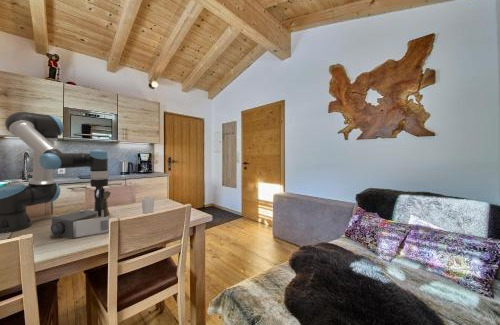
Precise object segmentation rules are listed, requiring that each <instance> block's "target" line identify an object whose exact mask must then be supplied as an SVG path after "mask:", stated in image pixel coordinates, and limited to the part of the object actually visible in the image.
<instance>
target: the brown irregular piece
mask: <svg viewBox="0 0 500 325" xmlns="http://www.w3.org/2000/svg"><path fill="white" fill-rule="evenodd" d="M110 196H111V192H110V191H108V190H105V192H104V208H105V209H103V214H104V217H109V216H110V212H109V205H108V203H109V202H108V200H107V199H108V198H110ZM95 210H96V206H95V205H94V209H93V211H95Z"/></svg>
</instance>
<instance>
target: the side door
mask: <svg viewBox="0 0 500 325" xmlns="http://www.w3.org/2000/svg"><path fill="white" fill-rule="evenodd" d="M109 222H110V217H109V216H106V217H102V218H95V219H88V220H81V221H74V222H73V238H72V239H75V238H80V237H87V236H91V235H92V236H93V235H97V234H102V233H107V232H108V233H109V232H110V225H109V224H110V223H109Z"/></svg>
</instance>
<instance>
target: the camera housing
mask: <svg viewBox="0 0 500 325" xmlns="http://www.w3.org/2000/svg"><path fill="white" fill-rule="evenodd" d="M95 218H97V211H94V209H84V208H83V209H80V210H77V211H72V212H69V213H66V214H61V215H57V216H53V217H51V225H50V232H51V235H52V236H56V237H62V238H66V239H67V238H69V239H74V238H73V222H74V221H81V220H88V219H95Z"/></svg>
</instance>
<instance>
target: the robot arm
mask: <svg viewBox="0 0 500 325" xmlns="http://www.w3.org/2000/svg"><path fill="white" fill-rule="evenodd" d="M4 126H5V129H6V130H7V132H9V134H11V135H13V136H15V137H18V138H19V139H20V140H21V141H22V142H23V143H24V144H26V145H27V146H28V147H29V148H30V149H31V150H32V151H33V154H32V155H33V157H32V158H33V159H32V178H31V180H29V181H28V185H27V186H26V185H25V184H12V185H7V186H5V185H4V186H1V187H0V232H5V233H8V232H7V231H12V232H15V231H20V230H23V229H27V228H29V227H31V226H32V220H31V217H30V216H29V214H28V213H27V207H31V206H36V205H43V204H48V203H52V202H54V201H56V200H57V199H58V198H59V197H60V195H61V187H60V185H59V184H58V183H57V181H56V180H54V179H53V176H54V174H53V173H54V170H58V169H60V170H61V169H71V168H72V169H73V168H76V169H77V168H90V170H89V171H90V172H89V173H88V174H89V175H90V187H92V188H95V189H94V196H93V197H94V207H95V206H96V210H95V211H97V218H102V217H104V214H103V209H105V208H104V192H105V191H106V190H105V188H104V187H106V186H108V185H109V179H108V178H109V169H108V168H109V161H108V160H109V157H108V151H107V150H106V149H91V150H89V153H88V152H79V153H78V152H77V153H76V152H72V153H71V152H69V153H68V152H65V153H63V152H62V151H61V150H60V149H58V147H56V146H55V141H57V140H58V139H59V137H60V136H61V135H63V133H64V130H65V128H64V123H63V121H61V119H60V118H59V117H58V116H54V115H49V114H43V113H35V112H29V111H17V112H14V113H11V114H10V115H8V116H7V118H6V119H5V123H4Z"/></svg>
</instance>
